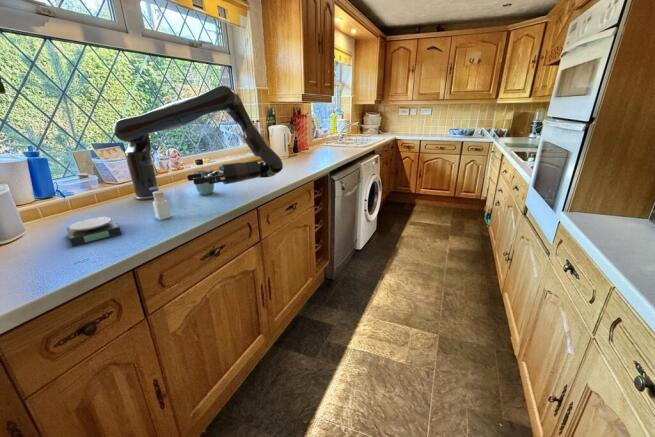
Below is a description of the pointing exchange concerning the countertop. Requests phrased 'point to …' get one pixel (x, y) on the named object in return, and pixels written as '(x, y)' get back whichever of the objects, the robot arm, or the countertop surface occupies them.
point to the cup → (204, 186)
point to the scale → (92, 230)
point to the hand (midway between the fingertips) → (190, 179)
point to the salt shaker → (161, 206)
